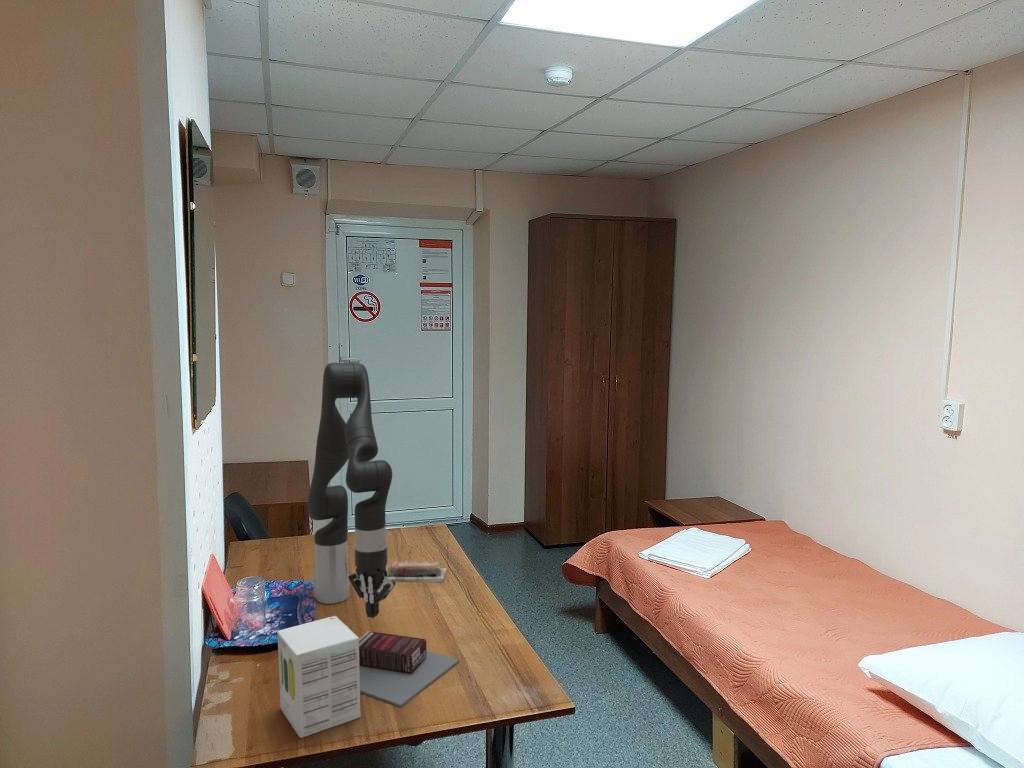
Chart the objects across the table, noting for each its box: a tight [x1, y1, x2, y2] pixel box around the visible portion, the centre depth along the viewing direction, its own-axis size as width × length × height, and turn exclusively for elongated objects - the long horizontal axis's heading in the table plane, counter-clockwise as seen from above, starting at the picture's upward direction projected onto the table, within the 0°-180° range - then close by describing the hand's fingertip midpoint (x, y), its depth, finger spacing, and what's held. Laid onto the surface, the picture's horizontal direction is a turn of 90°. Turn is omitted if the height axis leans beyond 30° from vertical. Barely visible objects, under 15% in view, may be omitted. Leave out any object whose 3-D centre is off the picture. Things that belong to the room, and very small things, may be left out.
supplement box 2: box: [359, 630, 427, 674], centre depth 167 cm, size 9×5×16 cm
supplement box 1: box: [276, 615, 362, 739], centre depth 146 cm, size 13×13×18 cm
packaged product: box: [387, 560, 447, 583], centre depth 222 cm, size 18×5×10 cm
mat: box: [359, 649, 460, 708], centre depth 164 cm, size 20×22×1 cm
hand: (372, 616), depth 166 cm, fingers closed
